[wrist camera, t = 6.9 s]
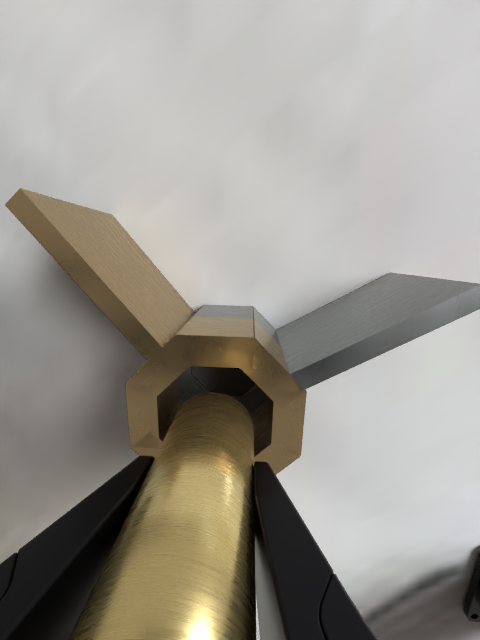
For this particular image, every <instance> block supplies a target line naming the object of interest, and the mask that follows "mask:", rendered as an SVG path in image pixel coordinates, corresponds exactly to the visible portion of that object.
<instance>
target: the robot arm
mask: <svg viewBox="0 0 480 640" xmlns="http://www.w3.org/2000/svg"><path fill="white" fill-rule="evenodd" d="M154 459H155V458H154V457H153V456H145V455H142V456H139V457H138V458H136V459H135V460H134V461H133V462H131V463H130V464H129V465H127V466H126V467H125V468H124V469H122V470H121V471H120V472H118V473H117V474H116V475H115V476H113V477H112V478H111V479H109V480H108V481H107V482H106V483H104V484H103V485H102V486H100V487H99V488H98V489H97V490H95V491H94V492H93V493H91V494H90V495H89V496H88V497H86V498H85V499H84V500H82V501H81V502H80V503H79V504H77V505H76V506H75V507H73V508H72V509H71V510H70V511H68V512H67V513H66V514H64V515H63V516H62V517H61V518H59V519H58V520H57V521H55V522H54V523H53V524H52V525H50V526H49V527H48V528H46V529H45V530H44V531H42V532H41V533H40V534H39V535H37V536H36V537H35V538H33V539H32V540H31V541H30V542H28V543H27V544H26V545H24V546H23V547H22V548H21V549H19V551H18V553H14V554H13V555H11V556H10V557H9V558H8V559H6V560H5V561H4V562H2V563H1V564H0V640H68V639H69V637H70V635H71V633H72V631H73V629H74V627H75V625H76V623H77V621H78V618H79V616H80V614H81V612H82V610H83V608H84V606H85V604H86V602H87V600H88V597H89V595H90V593H91V591H92V589H93V587H94V585H95V583H96V581H97V579H98V577H99V574H100V572H101V570H102V568H103V566H104V564H105V562H106V560H107V558H108V556H109V553H110V551H111V549H112V547H113V545H114V543H115V541H116V539H117V537H118V535H119V532H120V530H121V528H122V526H123V524H124V522H125V520H126V518H127V516H128V514H129V511H130V509H131V507H132V505H133V503H134V501H135V499H136V497H137V495H138V493H139V491H140V488H141V486H142V484H143V482H144V480H145V478H146V476H147V474H148V472H149V470H150V467H151V465H152V463H153V461H154ZM254 517H255V584H256V599H257V609H258V620H259V631H260V640H378V639H377V638H376V636H375V635H374V633H373V632H372V631H371V629H370V628H369V626H368V625H367V623H366V622H365V621H364V619H363V617H362V616H361V614H360V613H359V611H358V610H357V608H356V606H355V605H354V603H353V602H352V600H351V599H350V597H349V596H348V594H347V592H346V591H345V589H344V587H343V586H342V584H341V582H340V581H339V579H338V577H337V576H336V574H333V569H332V568H331V566H330V564H329V563H328V561H327V559H326V558H325V556H324V554H323V553H322V551H321V550H320V548H319V546H318V545H317V543H316V541H315V540H314V538H313V536H312V535H311V533H310V531H309V530H308V528H307V526H306V525H305V523H304V521H303V520H302V518H301V516H300V515H299V513H298V511H297V510H296V508H295V507H294V505H293V503H292V502H291V500H290V498H289V497H288V495H287V493H286V492H285V490H284V488H283V487H282V485H281V483H280V482H279V480H278V478H277V477H276V475H275V473H274V472H273V470H272V468H271V467H270V465H269V464H268V463H267V462H260V461H255V462H254ZM463 611H464V613H465V615H466V616H467V618H468V620H470V621H476V622H480V555H479V559H478V562H477V565H476V569H475V572H474V575H473V579H472V582H471V585H470V588H469V592H468V595H467V598H466V602H465V605H464V608H463Z"/></svg>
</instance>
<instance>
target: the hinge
mask: <svg viewBox="0 0 480 640" xmlns="http://www.w3.org/2000/svg"><path fill="white" fill-rule="evenodd" d="M5 206H6V207H7V208H8V209H9V210H10V211H11V212H12V213H13V214H14V215H15V217H16V218H17V219H18V220H19V221H20V222H21V223H22V224H23V225H24V226H25V227H26V229H27V230H28V231H29V232H30V233H31V234H32V235H33V236H34V237H35V238H36V239H37V241H38V242H39V243H40V244H41V245H42V246H43V247H44V248H45V249H46V250H47V252H48V253H49V254H50V255H51V256H52V257H53V258H54V259H55V260H56V261H57V262H58V264H59V265H60V266H61V267H62V268H63V269H64V270H65V271H66V272H67V273H68V275H69V276H70V277H71V278H72V279H73V280H74V281H75V282H76V283H77V284H78V285H79V287H80V288H81V289H82V290H83V291H84V292H85V293H86V294H87V295H88V296H89V297H90V299H91V300H92V301H93V302H94V303H95V304H96V305H97V306H98V307H99V308H100V310H101V311H102V312H103V313H104V314H105V315H106V316H107V317H108V318H109V319H110V320H111V322H112V323H113V324H114V325H115V326H116V327H117V328H118V329H119V330H120V331H121V333H122V334H123V335H124V336H125V337H126V338H127V339H128V340H129V341H130V342H131V343H132V345H133V346H134V347H135V348H136V349H137V350H138V351H139V352H140V353H141V354H142V355H143V357H144V358H145V359H146V360H147V362H146V363H145V364H144V365H143V366H142V367H141V368H140V369H139V370H138V371H137V372H136V373H135V374H134V375H133V376H132V377H131V378H130V379H129V380H128V381H127V382H126V384H125V389H126V401H127V413H128V425H129V437H130V447H131V449H132V450H134V451H135V452H136V453H137V454H138V455H139V456H142V455H145V456H153V457H154V458H155V457H156V455H157V453H158V451H159V449H160V446H161V444H162V442H163V440H164V438H165V436H166V434H167V432H168V430H169V428H170V425H171V423H172V421H173V419H174V417H175V415H176V413H177V411H178V409H179V408H180V406H181V405H182V404H183V403H184V402H185V401H187V400H188V399H189V398H191V397H193V396H195V395H198V394H202V393H208V392H209V391H208V390H207V389H206V388H205V387H204V386H203V385H202V384H201V383H200V382H199V381H198V380H197V379H195V378H194V377H193V376H192V375H191V366H202V367H228V368H240V369H241V370H242V371H243V372H244V373H245V374H246V375H247V376H248V377H249V378H250V379H251V380H252V381H253V382H254V383H255V384H256V385H254V386H253V387H252V388H251V389H250V390H249V391H247V392H246V393H245V394H244V395H243V396H232V395H228V396H231V397H233V398H235V399H236V400H238V401H239V402H240V403H241V404H242V405H243V406H244V407H245V408H246V409H247V410H248V412H249V414H250V416H251V418H252V421H253V426H254V462H255V461H260V462H267V463H268V464H269V465H270V467H271V468H272V470H273V472H274V473H275V475H276V474H277V473H279V472H280V471H281V470H283V469H284V468H285V467H287V466H288V465H289V464H291V463H292V462H294V461H295V460H296V459H298V458H299V457H300V456H301V447H302V436H303V425H304V414H305V403H306V389H307V388H309V387H311V386H313V385H316V384H318V383H320V382H322V381H324V380H326V379H329V378H331V377H333V376H335V375H337V374H339V373H342V372H344V371H346V370H348V369H350V368H353V367H355V366H357V365H359V364H361V363H363V362H366V361H368V360H370V359H372V358H374V357H376V356H379V355H381V354H383V353H385V352H387V351H389V350H392V349H394V348H396V347H398V346H400V345H403V344H405V343H407V342H409V341H411V340H413V339H416V338H418V337H420V336H422V335H424V334H426V333H429V332H431V331H433V330H435V329H437V328H439V327H442V326H444V325H446V324H448V323H450V322H453V321H455V320H457V319H459V318H461V317H463V316H466V315H468V314H470V313H472V312H474V311H476V310H479V309H480V284H477V283H469V282H461V281H453V280H445V279H437V278H429V277H421V276H413V275H405V274H397V273H389V274H387V275H385V276H383V277H381V278H379V279H377V280H375V281H373V282H371V283H369V284H367V285H365V286H363V287H361V288H359V289H357V290H355V291H353V292H351V293H349V294H347V295H345V296H343V297H341V298H339V299H337V300H335V301H333V302H331V303H329V304H327V305H325V306H323V307H321V308H319V309H317V310H315V311H313V312H311V313H309V314H307V315H305V316H303V317H301V318H299V319H297V320H295V321H293V322H291V323H289V324H287V325H285V326H283V327H281V328H279V329H277V330H275V329H274V328H273V327H272V326H271V325H270V324H269V322H268V321H267V320H266V319H265V318H264V317H263V316H262V315H261V314H260V313H259V312H258V311H257V310H256V309H255V308H254V307H253V306H221V305H203V306H202V307H201V308H200V309H199V310H198V311H197V312H196V313H194V311H193V310H192V309H191V308H190V307H189V305H188V304H187V303H186V302H185V301H184V299H183V298H182V297H181V296H180V295H179V294H178V292H177V291H176V290H175V289H174V288H173V286H172V285H171V284H170V283H169V282H168V281H167V279H166V278H165V277H164V276H163V275H162V273H161V272H160V271H159V270H158V269H157V268H156V266H155V265H154V264H153V263H152V262H151V260H150V259H149V258H148V257H147V256H146V254H145V253H144V252H143V251H142V250H141V249H140V247H139V246H138V245H137V244H136V243H135V241H134V240H133V239H132V238H131V237H130V236H129V234H128V233H127V232H126V231H125V230H124V228H123V227H122V226H121V225H120V224H119V223H118V221H117V220H116V219H115V218H114V217H113V215H111V214H107V213H104V212H100V211H97V210H94V209H90V208H87V207H83V206H80V205H76V204H73V203H69V202H66V201H62V200H59V199H55V198H52V197H48V196H45V195H42V194H38V193H35V192H31V191H28V190H24V189H21V188H20V189H19V190H18V191H17V192H16V193H15V194H14V195H13V197H12V198H11V199H10V200H9V201H8V202H7V203H6V204H5Z"/></svg>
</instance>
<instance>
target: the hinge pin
mask: <svg viewBox="0 0 480 640" xmlns="http://www.w3.org/2000/svg"><path fill="white" fill-rule="evenodd" d="M68 640H256V584H255V517H254V426H253V421H252V418H251V416H250V414H249V412H248V410H247V409H246V408H245V407H244V406H243V405H242V404H241V403H240V402H239V401H238V400H236V399H235V398H233V397H231V396H228V395H225V394H222V393H215V392H208V393H202V394H198V395H195V396H193V397H191V398H189V399H188V400H187V401H185V402H184V403H183V404H182V405H181V406H180V408H179V409H178V411H177V413H176V415H175V417H174V419H173V421H172V423H171V425H170V428H169V430H168V432H167V434H166V436H165V438H164V440H163V442H162V444H161V446H160V449H159V451H158V453H157V455H156V457H155V459H154V461H153V463H152V465H151V467H150V470H149V472H148V474H147V476H146V478H145V480H144V482H143V484H142V486H141V488H140V491H139V493H138V495H137V497H136V499H135V501H134V503H133V505H132V507H131V509H130V511H129V514H128V516H127V518H126V520H125V522H124V524H123V526H122V528H121V530H120V532H119V535H118V537H117V539H116V541H115V543H114V545H113V547H112V549H111V551H110V553H109V556H108V558H107V560H106V562H105V564H104V566H103V568H102V570H101V572H100V574H99V577H98V579H97V581H96V583H95V585H94V587H93V589H92V591H91V593H90V595H89V597H88V600H87V602H86V604H85V606H84V608H83V610H82V612H81V614H80V616H79V618H78V621H77V623H76V625H75V627H74V629H73V631H72V633H71V635H70V637H69V639H68Z"/></svg>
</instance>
